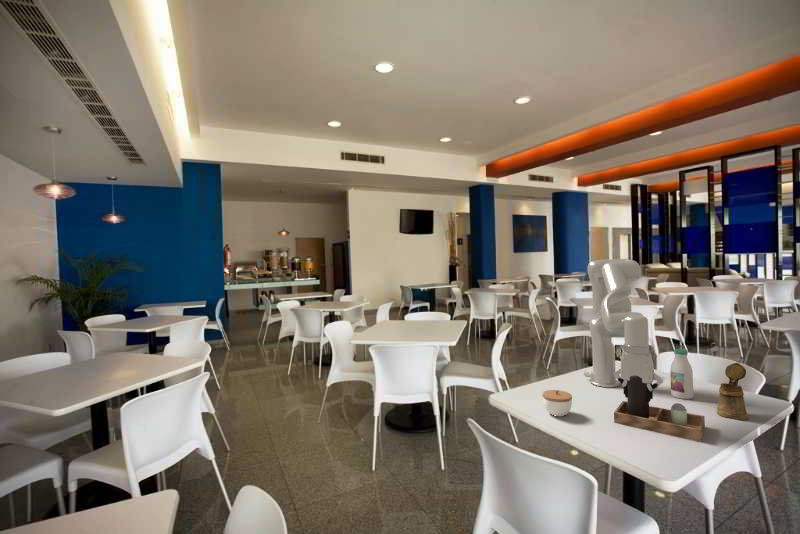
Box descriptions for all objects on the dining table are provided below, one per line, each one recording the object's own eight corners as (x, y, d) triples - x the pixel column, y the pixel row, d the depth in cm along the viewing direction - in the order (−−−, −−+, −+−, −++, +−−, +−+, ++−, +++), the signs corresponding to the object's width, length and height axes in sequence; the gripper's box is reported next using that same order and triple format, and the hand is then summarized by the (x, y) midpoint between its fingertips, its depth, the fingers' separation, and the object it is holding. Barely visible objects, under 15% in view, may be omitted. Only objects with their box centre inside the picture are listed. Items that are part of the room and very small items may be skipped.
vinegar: (639, 411, 145) (637, 358, 145) (654, 418, 138) (652, 363, 138) (623, 413, 144) (621, 360, 143) (637, 421, 137) (636, 365, 137)
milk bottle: (685, 393, 168) (684, 347, 167) (697, 399, 160) (696, 351, 159) (667, 393, 168) (665, 347, 168) (678, 399, 161) (676, 352, 160)
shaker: (670, 429, 133) (669, 404, 133) (672, 425, 136) (671, 400, 136) (686, 433, 130) (685, 407, 130) (687, 428, 133) (687, 403, 133)
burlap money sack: (754, 412, 146) (752, 364, 145) (744, 422, 138) (743, 372, 137) (724, 405, 153) (722, 360, 152) (713, 415, 145) (712, 367, 144)
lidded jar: (538, 409, 156) (537, 386, 156) (563, 407, 157) (563, 384, 157) (551, 420, 146) (550, 396, 146) (578, 418, 147) (577, 393, 146)
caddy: (614, 424, 140) (613, 412, 140) (623, 412, 150) (622, 400, 150) (701, 444, 123) (701, 430, 123) (704, 428, 134) (704, 416, 134)
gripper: (607, 348, 143) (609, 396, 144) (663, 355, 132) (665, 407, 132) (612, 344, 149) (614, 390, 150) (666, 350, 138) (668, 400, 138)
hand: (638, 398), depth 141 cm, fingers closed on vinegar, 6 cm apart
